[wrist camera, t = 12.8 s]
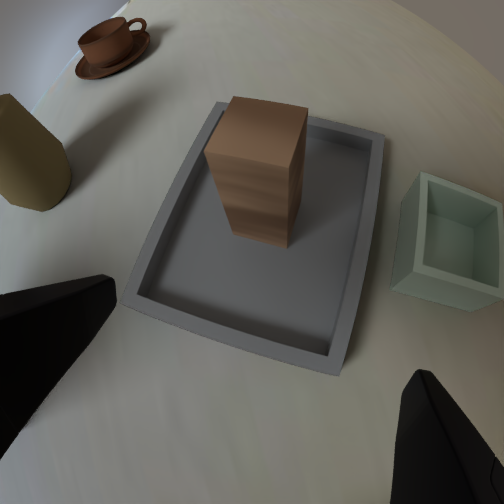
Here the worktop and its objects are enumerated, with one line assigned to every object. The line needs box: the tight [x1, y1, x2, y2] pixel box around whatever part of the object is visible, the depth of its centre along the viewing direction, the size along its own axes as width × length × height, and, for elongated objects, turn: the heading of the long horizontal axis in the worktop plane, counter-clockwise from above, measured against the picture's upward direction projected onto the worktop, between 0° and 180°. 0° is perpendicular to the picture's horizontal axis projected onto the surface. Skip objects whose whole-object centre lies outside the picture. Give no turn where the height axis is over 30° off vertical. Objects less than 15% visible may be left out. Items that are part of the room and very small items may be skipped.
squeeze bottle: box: [0, 94, 72, 212], centre depth 19 cm, size 8×8×18 cm
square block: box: [204, 96, 308, 249], centre depth 18 cm, size 4×4×10 cm
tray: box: [120, 102, 385, 376], centre depth 22 cm, size 19×15×2 cm
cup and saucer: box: [75, 17, 150, 80], centre depth 33 cm, size 12×12×6 cm
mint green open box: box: [390, 171, 504, 312], centre depth 19 cm, size 8×8×4 cm
